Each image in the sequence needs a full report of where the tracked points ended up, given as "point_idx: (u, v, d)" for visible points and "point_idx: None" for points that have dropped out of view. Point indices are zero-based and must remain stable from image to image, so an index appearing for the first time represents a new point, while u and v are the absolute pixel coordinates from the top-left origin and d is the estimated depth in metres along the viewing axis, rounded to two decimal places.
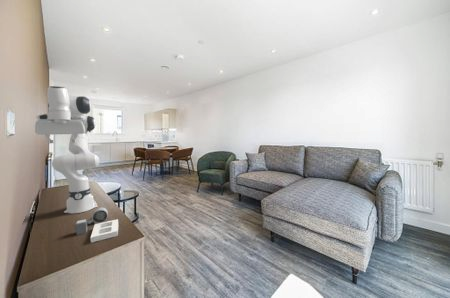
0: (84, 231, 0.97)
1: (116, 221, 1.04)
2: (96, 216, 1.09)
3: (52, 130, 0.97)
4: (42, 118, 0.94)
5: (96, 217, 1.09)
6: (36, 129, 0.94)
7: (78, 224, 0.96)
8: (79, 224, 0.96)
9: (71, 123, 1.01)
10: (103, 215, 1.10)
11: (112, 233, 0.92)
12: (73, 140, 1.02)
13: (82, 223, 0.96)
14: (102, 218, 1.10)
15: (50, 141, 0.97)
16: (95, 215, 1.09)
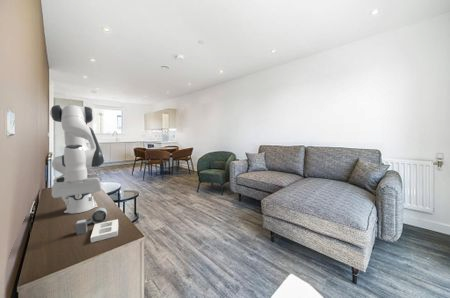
0: (84, 231, 0.97)
1: (116, 221, 1.04)
2: (95, 216, 1.08)
3: (68, 192, 0.93)
4: (59, 181, 0.90)
5: (95, 217, 1.09)
6: (53, 193, 0.90)
7: (78, 224, 0.96)
8: (79, 224, 0.96)
9: (88, 182, 0.97)
10: (102, 215, 1.10)
11: (112, 233, 0.92)
12: (90, 199, 0.98)
13: (82, 223, 0.96)
14: (101, 218, 1.10)
15: (67, 203, 0.94)
16: (94, 215, 1.08)
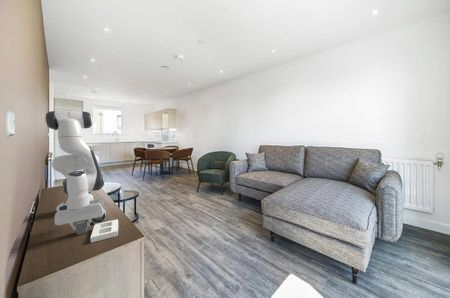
0: (84, 231, 0.97)
1: (116, 221, 1.04)
2: None
3: (71, 219, 0.94)
4: (62, 209, 0.91)
5: None
6: (56, 221, 0.91)
7: (78, 224, 0.96)
8: (79, 224, 0.96)
9: (90, 208, 0.98)
10: None
11: (112, 233, 0.92)
12: (87, 225, 0.98)
13: (82, 223, 0.96)
14: (100, 218, 1.09)
15: (74, 228, 0.96)
16: None
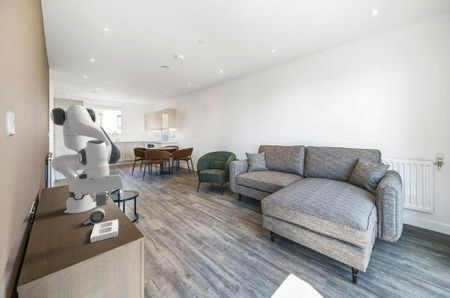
0: (104, 203, 0.92)
1: (116, 221, 1.04)
2: (93, 217, 1.08)
3: (91, 189, 0.89)
4: (82, 178, 0.86)
5: (93, 218, 1.08)
6: (75, 190, 0.86)
7: (98, 195, 0.90)
8: (99, 195, 0.91)
9: (110, 179, 0.93)
10: (100, 216, 1.09)
11: (112, 233, 0.92)
12: (107, 197, 0.93)
13: (102, 194, 0.91)
14: (99, 219, 1.09)
15: (94, 200, 0.91)
16: (92, 216, 1.08)
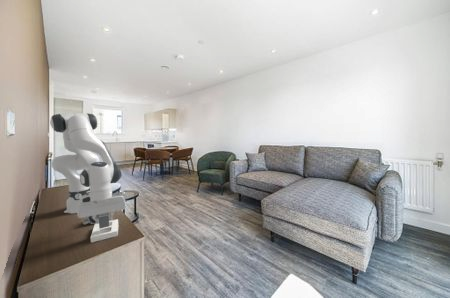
0: (107, 224, 0.93)
1: (116, 221, 1.04)
2: None
3: (94, 212, 0.90)
4: (85, 201, 0.87)
5: (92, 218, 1.08)
6: (78, 213, 0.87)
7: (101, 217, 0.91)
8: (102, 217, 0.92)
9: (113, 200, 0.94)
10: None
11: (112, 233, 0.92)
12: (110, 218, 0.94)
13: (105, 216, 0.92)
14: None
15: (97, 221, 0.92)
16: (91, 216, 1.08)
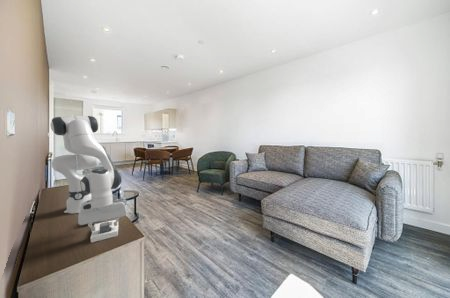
0: None
1: None
2: None
3: (95, 218, 0.90)
4: (86, 208, 0.87)
5: None
6: (79, 220, 0.87)
7: (102, 227, 0.92)
8: (103, 227, 0.92)
9: (114, 207, 0.94)
10: None
11: (112, 233, 0.92)
12: (115, 224, 0.95)
13: (106, 225, 0.93)
14: None
15: (92, 229, 0.91)
16: None
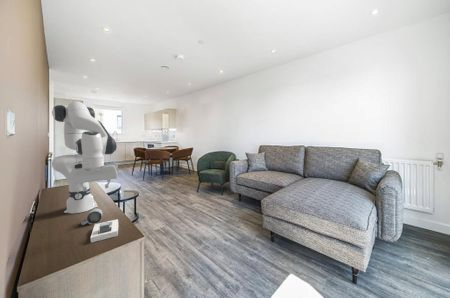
0: None
1: (116, 221, 1.04)
2: (90, 217, 1.07)
3: (86, 179, 0.93)
4: (77, 167, 0.90)
5: (90, 218, 1.07)
6: (71, 179, 0.90)
7: (102, 227, 0.92)
8: (103, 227, 0.92)
9: (105, 169, 0.97)
10: (97, 216, 1.09)
11: (112, 233, 0.92)
12: (106, 186, 0.98)
13: (106, 225, 0.93)
14: (96, 219, 1.09)
15: (84, 189, 0.94)
16: (89, 216, 1.07)
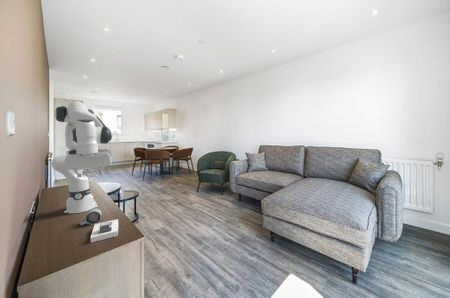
0: None
1: (116, 221, 1.04)
2: (89, 217, 1.07)
3: (80, 165, 0.96)
4: (71, 153, 0.93)
5: (89, 218, 1.07)
6: (65, 164, 0.93)
7: (102, 227, 0.92)
8: (103, 227, 0.92)
9: (99, 156, 1.00)
10: (97, 216, 1.09)
11: (112, 233, 0.92)
12: (100, 173, 1.01)
13: (106, 225, 0.93)
14: (95, 219, 1.08)
15: (78, 175, 0.96)
16: (88, 216, 1.07)
